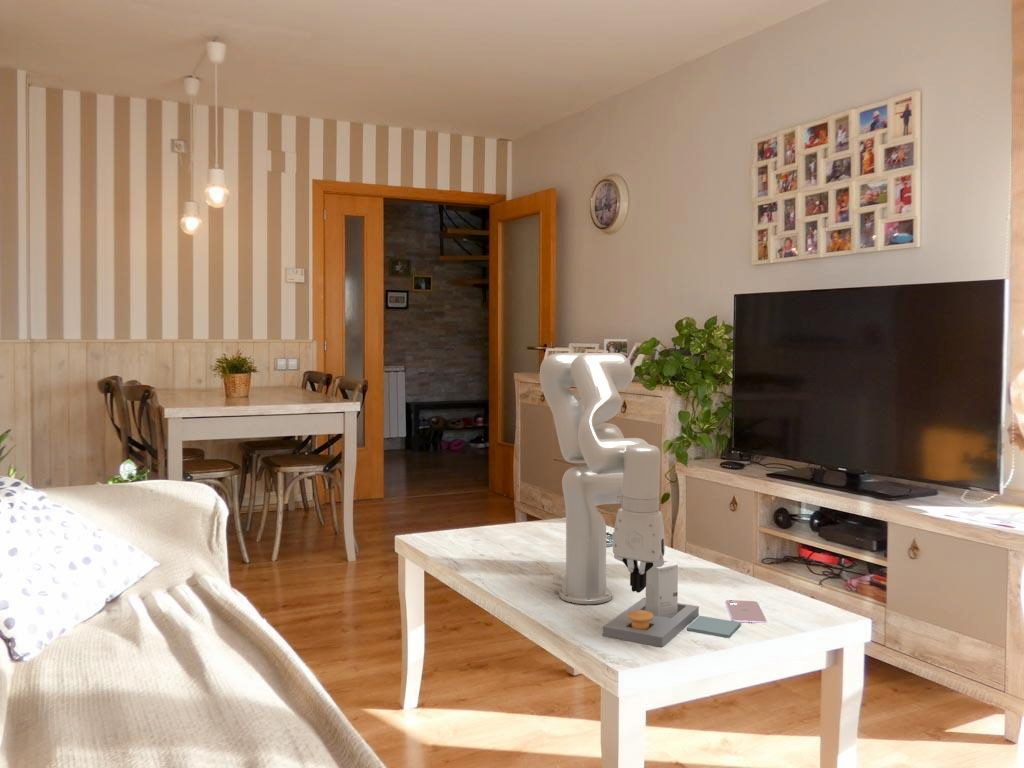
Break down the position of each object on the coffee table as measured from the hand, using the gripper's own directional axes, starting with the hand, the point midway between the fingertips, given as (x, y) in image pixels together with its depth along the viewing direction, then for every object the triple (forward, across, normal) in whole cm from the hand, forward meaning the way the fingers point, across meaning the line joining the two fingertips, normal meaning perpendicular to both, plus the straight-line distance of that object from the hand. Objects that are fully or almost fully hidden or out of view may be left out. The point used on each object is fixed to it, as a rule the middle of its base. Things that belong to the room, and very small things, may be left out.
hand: (637, 590), depth 178 cm
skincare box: (+10, +1, +11) cm, 15 cm away
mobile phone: (+10, +16, +25) cm, 31 cm away
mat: (+9, +13, +11) cm, 19 cm away
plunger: (+9, +1, -1) cm, 9 cm away
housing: (+9, +1, +5) cm, 11 cm away
